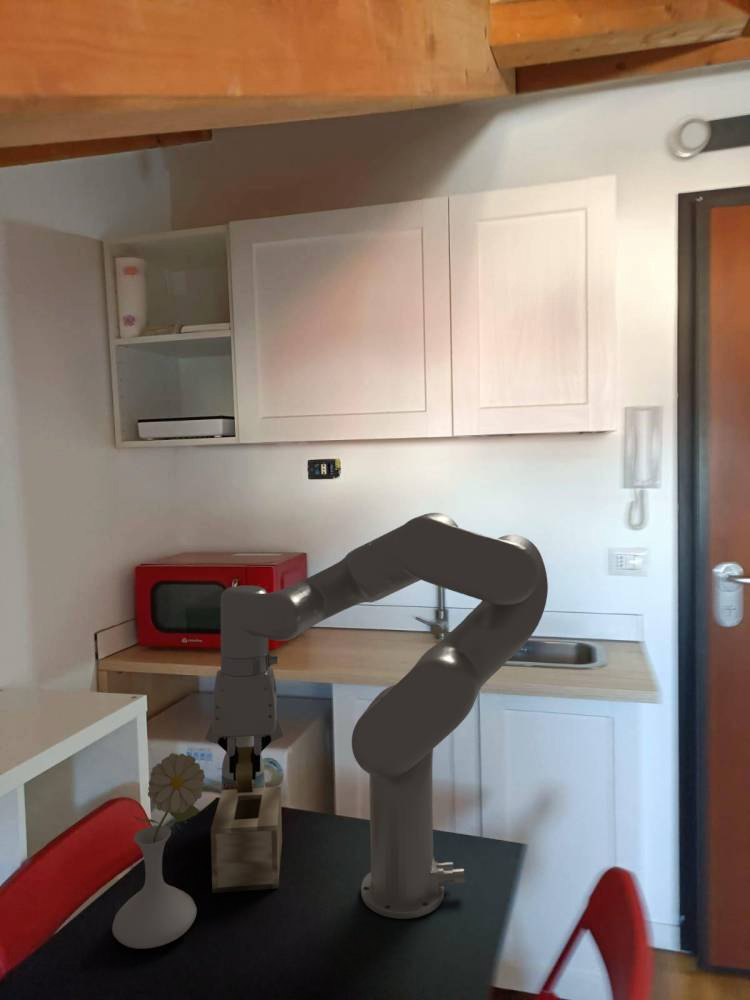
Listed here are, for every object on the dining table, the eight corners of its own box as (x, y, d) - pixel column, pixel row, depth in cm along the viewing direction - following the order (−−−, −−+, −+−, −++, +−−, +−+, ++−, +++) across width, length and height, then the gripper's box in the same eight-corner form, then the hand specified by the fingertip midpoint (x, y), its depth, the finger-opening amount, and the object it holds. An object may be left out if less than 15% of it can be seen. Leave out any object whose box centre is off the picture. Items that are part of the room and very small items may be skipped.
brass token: (254, 764, 114) (253, 746, 111) (252, 792, 110) (251, 774, 107) (239, 765, 113) (237, 747, 111) (237, 793, 109) (235, 775, 107)
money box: (282, 843, 118) (280, 786, 118) (278, 888, 106) (276, 825, 105) (223, 846, 118) (222, 790, 117) (212, 892, 105) (210, 829, 104)
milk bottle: (223, 820, 126) (220, 714, 126) (265, 816, 128) (263, 711, 127) (222, 842, 119) (218, 730, 118) (266, 837, 120) (263, 726, 119)
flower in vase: (108, 966, 89) (101, 779, 88) (116, 912, 100) (111, 745, 99) (210, 946, 93) (205, 766, 92) (207, 896, 104) (203, 735, 103)
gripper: (294, 656, 114) (294, 764, 115) (197, 658, 112) (197, 768, 113) (295, 669, 106) (294, 784, 107) (190, 672, 104) (190, 789, 105)
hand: (245, 775), depth 110 cm, fingers closed on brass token, 2 cm apart
